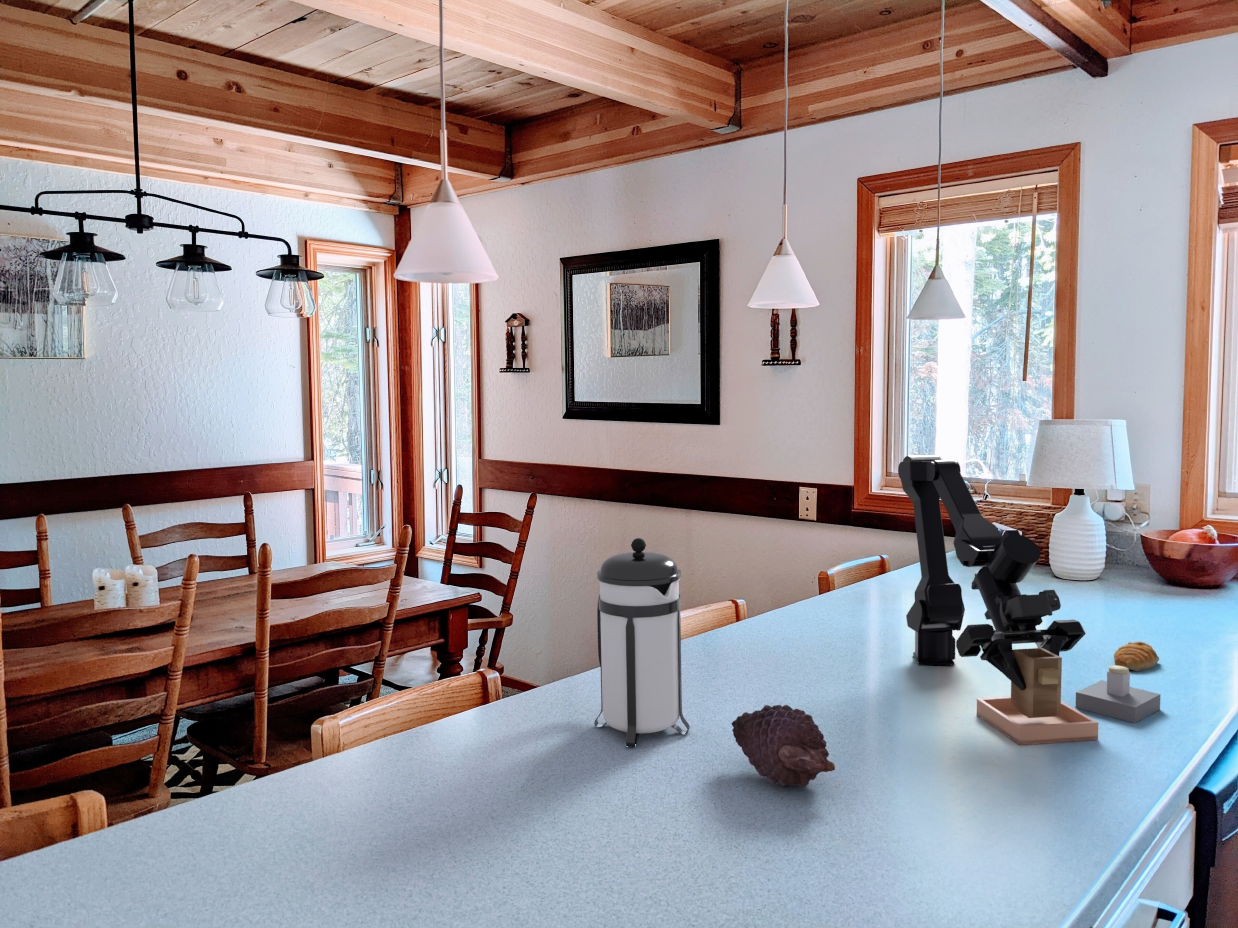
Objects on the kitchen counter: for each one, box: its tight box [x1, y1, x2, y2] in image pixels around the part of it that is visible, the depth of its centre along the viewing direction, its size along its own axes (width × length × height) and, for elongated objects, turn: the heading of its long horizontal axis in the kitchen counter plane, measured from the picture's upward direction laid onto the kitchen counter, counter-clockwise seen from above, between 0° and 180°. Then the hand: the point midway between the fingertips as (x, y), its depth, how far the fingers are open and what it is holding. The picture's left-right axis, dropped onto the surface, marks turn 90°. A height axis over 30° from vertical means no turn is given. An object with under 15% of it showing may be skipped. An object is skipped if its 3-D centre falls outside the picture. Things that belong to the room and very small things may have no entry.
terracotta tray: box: [976, 696, 1099, 746], centre depth 136 cm, size 12×12×3 cm
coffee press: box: [593, 537, 691, 748], centre depth 137 cm, size 17×16×30 cm
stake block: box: [1075, 664, 1161, 724], centre depth 142 cm, size 9×9×7 cm
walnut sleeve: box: [1010, 647, 1063, 718], centre depth 134 cm, size 6×5×9 cm
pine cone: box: [731, 704, 836, 787], centre depth 119 cm, size 18×10×10 cm, turn 34°
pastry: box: [1113, 641, 1160, 672], centre depth 164 cm, size 9×7×4 cm
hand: (1040, 688), depth 134 cm, fingers closed on walnut sleeve, 5 cm apart
